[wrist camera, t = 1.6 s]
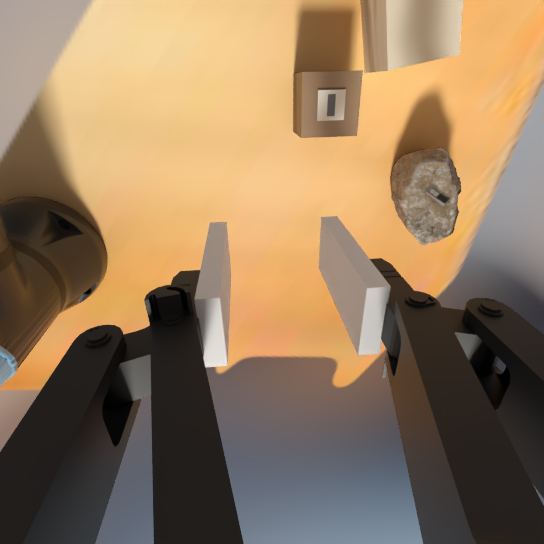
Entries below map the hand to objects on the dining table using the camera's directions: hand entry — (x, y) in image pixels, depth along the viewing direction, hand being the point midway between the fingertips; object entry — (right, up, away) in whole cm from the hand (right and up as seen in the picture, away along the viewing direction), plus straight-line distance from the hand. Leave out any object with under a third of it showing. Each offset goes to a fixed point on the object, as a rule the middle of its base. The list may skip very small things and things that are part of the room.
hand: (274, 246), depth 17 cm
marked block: (+5, +19, +23) cm, 30 cm away
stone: (+19, +10, +30) cm, 37 cm away
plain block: (+13, +25, +21) cm, 35 cm away
